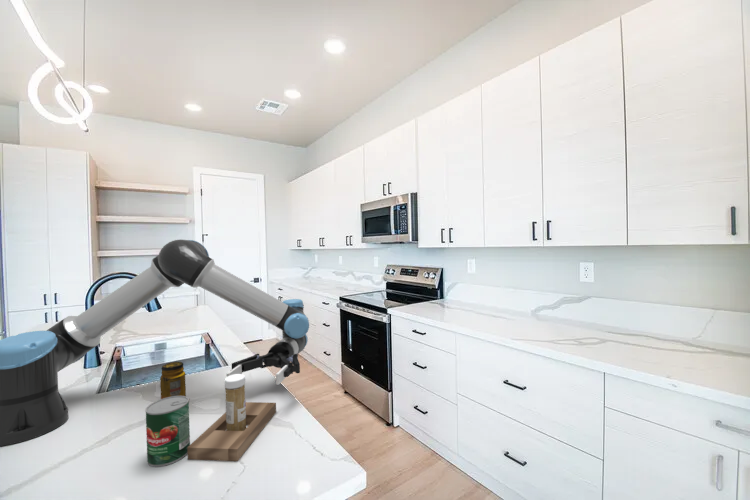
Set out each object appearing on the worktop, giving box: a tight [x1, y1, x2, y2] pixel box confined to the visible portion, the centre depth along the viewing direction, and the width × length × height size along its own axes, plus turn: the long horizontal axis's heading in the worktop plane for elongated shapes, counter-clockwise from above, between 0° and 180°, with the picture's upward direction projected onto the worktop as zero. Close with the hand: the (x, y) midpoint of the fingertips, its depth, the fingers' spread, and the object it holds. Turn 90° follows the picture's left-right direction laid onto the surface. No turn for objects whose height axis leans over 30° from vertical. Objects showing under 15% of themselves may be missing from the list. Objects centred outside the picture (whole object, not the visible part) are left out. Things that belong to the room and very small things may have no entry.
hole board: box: [187, 401, 277, 462], centre depth 78 cm, size 11×20×2 cm, turn 174°
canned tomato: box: [145, 395, 191, 468], centre depth 70 cm, size 8×8×11 cm
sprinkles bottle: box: [223, 373, 247, 431], centre depth 78 cm, size 5×5×13 cm
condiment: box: [159, 361, 191, 401], centre depth 91 cm, size 7×8×12 cm
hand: (252, 379), depth 86 cm, fingers open, 13 cm apart
